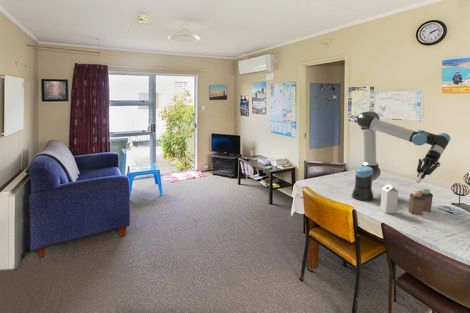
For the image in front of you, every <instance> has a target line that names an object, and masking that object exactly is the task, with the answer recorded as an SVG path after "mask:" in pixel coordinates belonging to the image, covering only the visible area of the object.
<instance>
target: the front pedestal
mask: <svg viewBox="0 0 470 313" xmlns="http://www.w3.org/2000/svg"><path fill="white" fill-rule="evenodd" d="M424 198H425V197H424V196H422V195H421V197H414V196H413V193H410V194H409V199H408V200H409V201H408V203H409V204H408V211H407V212H409V213H410V214H411V215H414V214H416V215H418V216H423V215H424V214H423V213H424V211H423V207H424ZM416 215H415V216H416Z"/></svg>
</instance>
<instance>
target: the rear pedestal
mask: <svg viewBox="0 0 470 313" xmlns="http://www.w3.org/2000/svg"><path fill="white" fill-rule="evenodd" d="M417 191H418V192H421V191H422V190H417ZM422 196H424V197H425V198H424V207H423V213H425V212H427V213H432V204H433V197H434V194H433V193H431V192H430V194H422Z"/></svg>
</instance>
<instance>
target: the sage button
mask: <svg viewBox="0 0 470 313" xmlns="http://www.w3.org/2000/svg"><path fill="white" fill-rule="evenodd" d="M420 191H421V193H422V194H430V193H431V190H430V189H428V188H421V190H420Z"/></svg>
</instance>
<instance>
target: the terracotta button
mask: <svg viewBox="0 0 470 313" xmlns="http://www.w3.org/2000/svg"><path fill="white" fill-rule="evenodd" d="M418 191H419V190H417V191H413V192H412V194H413V196H414V197H421V195H422V193H421V192H418Z"/></svg>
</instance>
